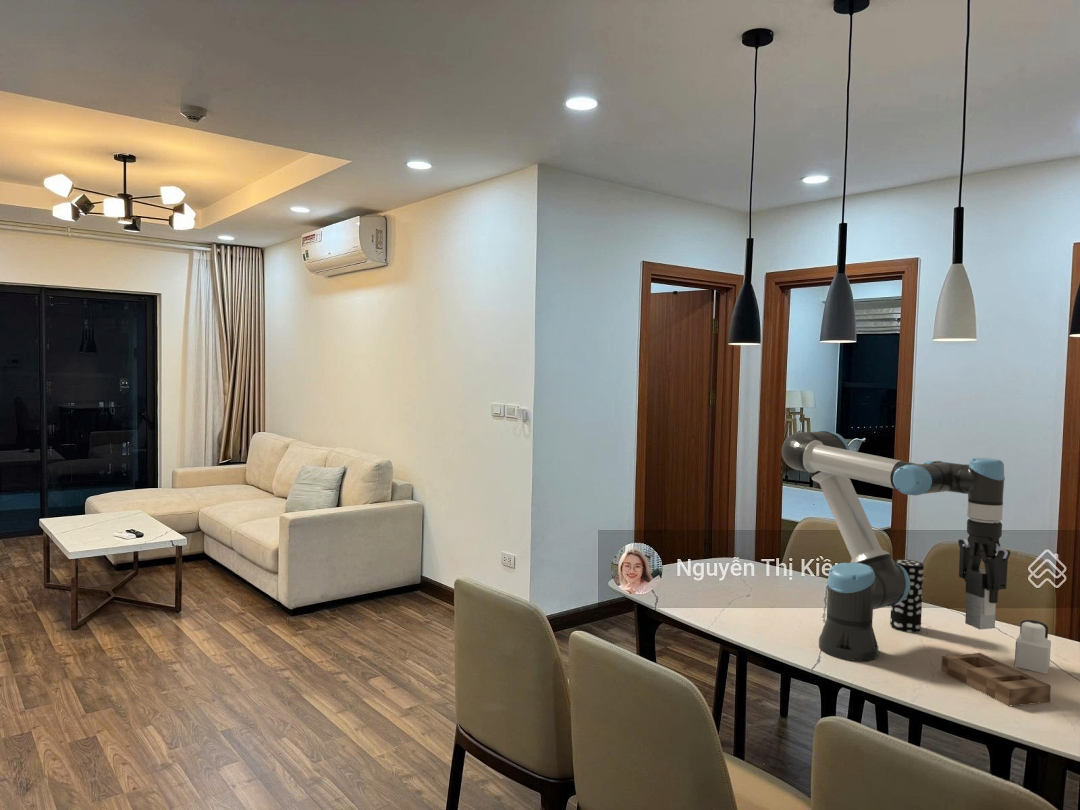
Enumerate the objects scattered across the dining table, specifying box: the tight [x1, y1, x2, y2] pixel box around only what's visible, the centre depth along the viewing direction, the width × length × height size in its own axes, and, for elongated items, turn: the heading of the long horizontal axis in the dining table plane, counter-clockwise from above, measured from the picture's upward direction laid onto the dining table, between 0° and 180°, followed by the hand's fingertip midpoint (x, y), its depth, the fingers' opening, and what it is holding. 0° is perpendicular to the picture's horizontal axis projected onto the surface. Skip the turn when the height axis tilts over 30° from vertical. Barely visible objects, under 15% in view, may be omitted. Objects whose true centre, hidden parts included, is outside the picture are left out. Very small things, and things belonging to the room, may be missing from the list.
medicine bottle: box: [1014, 619, 1052, 675], centre depth 191 cm, size 7×7×12 cm
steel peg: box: [965, 567, 997, 630], centre depth 182 cm, size 4×4×14 cm
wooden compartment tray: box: [940, 652, 1052, 707], centre depth 178 cm, size 12×20×4 cm, turn 14°
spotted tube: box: [889, 558, 925, 633], centre depth 218 cm, size 8×8×20 cm
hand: (980, 611), depth 182 cm, fingers closed on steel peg, 4 cm apart
